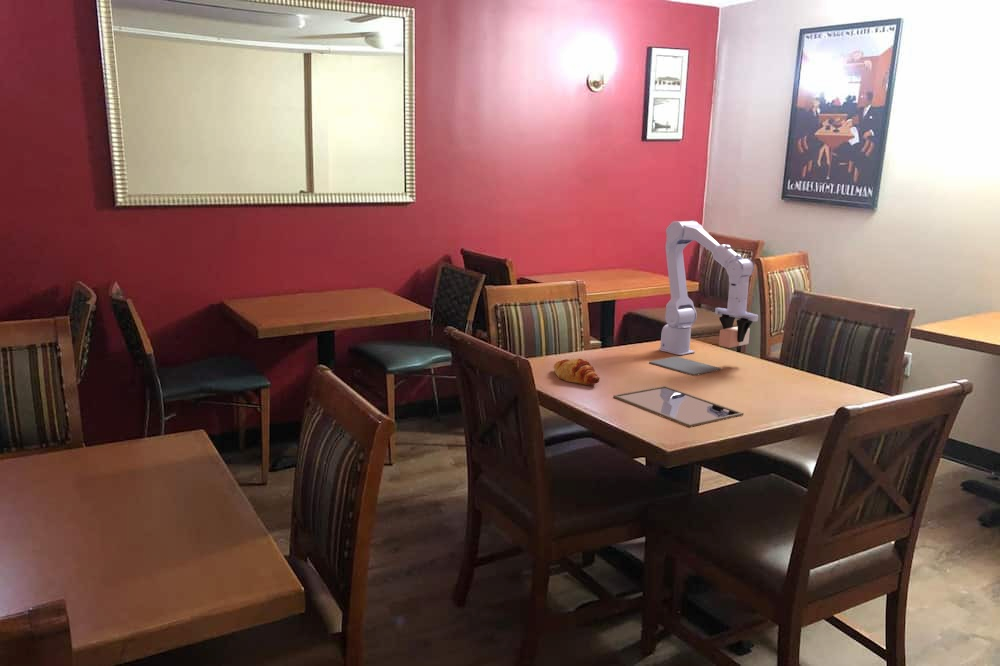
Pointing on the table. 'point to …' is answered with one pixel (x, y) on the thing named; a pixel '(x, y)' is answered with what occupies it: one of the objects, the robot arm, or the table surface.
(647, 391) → the picture frame
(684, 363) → the mat
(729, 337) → the two-tone block
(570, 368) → the croissant
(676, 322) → the robot arm
